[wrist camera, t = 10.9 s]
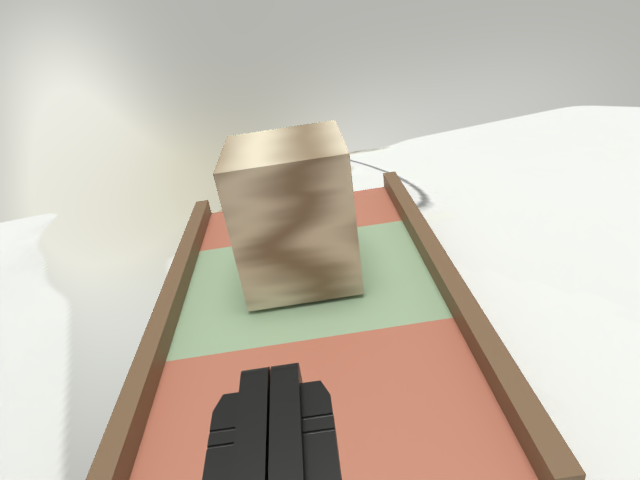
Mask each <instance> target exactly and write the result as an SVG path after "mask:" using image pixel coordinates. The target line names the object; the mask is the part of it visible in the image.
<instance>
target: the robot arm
mask: <svg viewBox="0 0 640 480" xmlns="http://www.w3.org/2000/svg"><path fill="white" fill-rule="evenodd" d="M202 480H342V475H341V467H340V459H339V451H338V443H337V435H336V428H335V422H334V415H333V408H332V401H331V395H330V393H329V392H328V390H327V389H326V387H325V386H324V385H323V383H322V382H321V380H319V381H312V382H305V383H303V382H302V376H301V371H300V366H299V363H292V364H285V365H278V366H271V369H270V367H264V368H257V369H250V370H243V371H241V375H240V385H239V392H236V393H229V394H223V395H222V397H221V398H220V400H219V402H218V403H217V405H216V407H215V408H214V410H213V412H212V418H211V424H210V434H209V437H208V444H207V450H206V457H205V463H204V470H203V476H202Z"/></svg>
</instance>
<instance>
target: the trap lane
mask: <svg viewBox="0 0 640 480" xmlns="http://www.w3.org/2000/svg"><path fill="white" fill-rule="evenodd" d="M383 176H384V187H382V188H375V189H369V190H362V191H355V192H353V193H354V203H355V212H356V222H357V231H358V240H359V250H360V259H361V269H362V278H363V287H364V294H361V295H354V296H348V297H341V298H334V299H328V300H321V301H315V302H308V303H302V304H295V305H289V306H282V307H275V308H269V309H262V310H256V311H249V312H248V309H247V305H246V301H245V298H244V294H243V290H242V286H241V282H240V278H239V274H238V270H237V266H236V262H235V258H234V254H233V250H232V246H231V242H230V238H229V234H228V231H227V227H226V223H225V219H224V215H223V212H217V213H211V210H210V206H209V202H208V200H205V201H199V202H196V204H195V206H194V209H193V211H192V214H191V217H190V220H189V221H188V224H187V226H186V229H185V231H184V234H183V236H182V239H181V242H180V244H179V247H178V249H177V252H176V254H175V257H174V259H173V262H172V264H171V267H170V269H169V272H168V274H167V277H166V279H165V282H164V284H163V287H162V289H161V292H160V294H159V297H158V299H157V302H156V304H155V307H154V309H153V312H152V314H151V317H150V319H149V322H148V324H147V327H146V330H145V332H144V335H143V337H142V340H141V342H140V345H139V347H138V350H137V352H136V355H135V357H134V360H133V362H132V365H131V367H130V370H129V372H128V375H127V377H126V380H125V382H124V385H123V388H122V390H121V393H120V395H119V397H118V400H117V403H116V405H115V408H114V410H113V412H112V415H111V418H110V420H109V423H108V425H107V428H106V430H105V433H104V435H103V438H102V440H101V443H100V445H99V448H98V450H97V453H96V455H95V458H94V460H93V463H92V465H91V468H90V471H89V473H88V475H87V478H86V480H202V476H203V470H204V463H205V457H206V450H207V444H208V437H209V434H210V424H211V418H212V412H213V410H214V408H215V407H216V405H217V403H218V402H219V400H220V398H221V397H222V395H223V394H229V393H236V392H239V385H240V375H241V371H243V370H250V369H257V368H264V367H270V369H271V366H278V365H285V364H292V363H299V366H300V371H301V376H302V382H303V383H305V382H312V381H319V380H321V382H322V383H323V385H324V386H325V387H326V389H327V390H328V392H329V393H330V395H331V401H332V408H333V415H334V422H335V428H336V435H337V443H338V451H339V459H340V467H341V475H342V480H585V476H586V474H585V472H584V471H583V469H582V467H581V466H580V464H579V463H578V461H577V459H576V458H575V456H574V455H573V453H572V452H571V450H570V448H569V447H568V445H567V444H566V442H565V440H564V439H563V437H562V436H561V434H560V432H559V431H558V429H557V428H556V426H555V425H554V423H553V421H552V420H551V418H550V417H549V415H548V413H547V412H546V410H545V409H544V407H543V406H542V404H541V402H540V401H539V399H538V398H537V396H536V394H535V393H534V391H533V390H532V388H531V387H530V385H529V383H528V382H527V380H526V379H525V377H524V375H523V374H522V372H521V371H520V369H519V367H518V366H517V364H516V363H515V361H514V360H513V358H512V356H511V355H510V353H509V352H508V350H507V348H506V347H505V345H504V344H503V342H502V341H501V339H500V337H499V336H498V334H497V333H496V331H495V329H494V328H493V326H492V325H491V323H490V322H489V320H488V318H487V317H486V315H485V314H484V312H483V310H482V309H481V307H480V306H479V304H478V302H477V301H476V299H475V298H474V296H473V295H472V293H471V291H470V290H469V288H468V287H467V285H466V283H465V282H464V280H463V279H462V277H461V276H460V274H459V272H458V271H457V269H456V268H455V266H454V264H453V263H452V261H451V260H450V258H449V257H448V255H447V253H446V252H445V250H444V249H443V247H442V245H441V244H440V242H439V241H438V239H437V237H436V236H435V234H434V233H433V231H432V230H431V228H430V226H429V225H428V223H427V222H426V220H425V218H424V217H423V215H422V214H421V212H420V211H419V209H418V207H417V206H416V204H415V203H414V201H413V199H412V198H411V196H410V195H409V193H408V192H407V190H406V188H405V187H404V185H403V184H402V182H401V180H400V179H399V177H398V176H397V174H396V172H390V173H383Z"/></svg>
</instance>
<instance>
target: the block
mask: <svg viewBox="0 0 640 480" xmlns="http://www.w3.org/2000/svg"><path fill="white" fill-rule="evenodd" d="M213 175H214V179H215V183H216V187H217V191H218V195H219V199H220V203H221V207H222V211H223V215H224V219H225V223H226V227H227V231H228V234H229V238H230V242H231V246H232V250H233V254H234V258H235V262H236V266H237V270H238V274H239V278H240V282H241V286H242V290H243V294H244V298H245V301H246V305H247V309H248V312H249V311H256V310H262V309H269V308H275V307H282V306H289V305H295V304H302V303H308V302H315V301H321V300H328V299H334V298H341V297H348V296H354V295H361V294H364V287H363V278H362V269H361V259H360V250H359V240H358V231H357V222H356V212H355V203H354V193H353V184H352V175H351V165H350V156H349V152H348V149H347V147H346V145H345V142H344V140H343V137H342V135H341V133H340V130H339V128H338V126H337V123H336V121H335V120H332V121H325V122H319V123H312V124H306V125H300V126H293V127H286V128H279V129H272V130H266V131H260V132H253V133H246V134H239V135H233V136H227V138H226V140H225V144H224V146H223V148H222V151H221V154H220V157H219V160H218V162H217V165H216V168H215V170H214V173H213Z"/></svg>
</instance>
